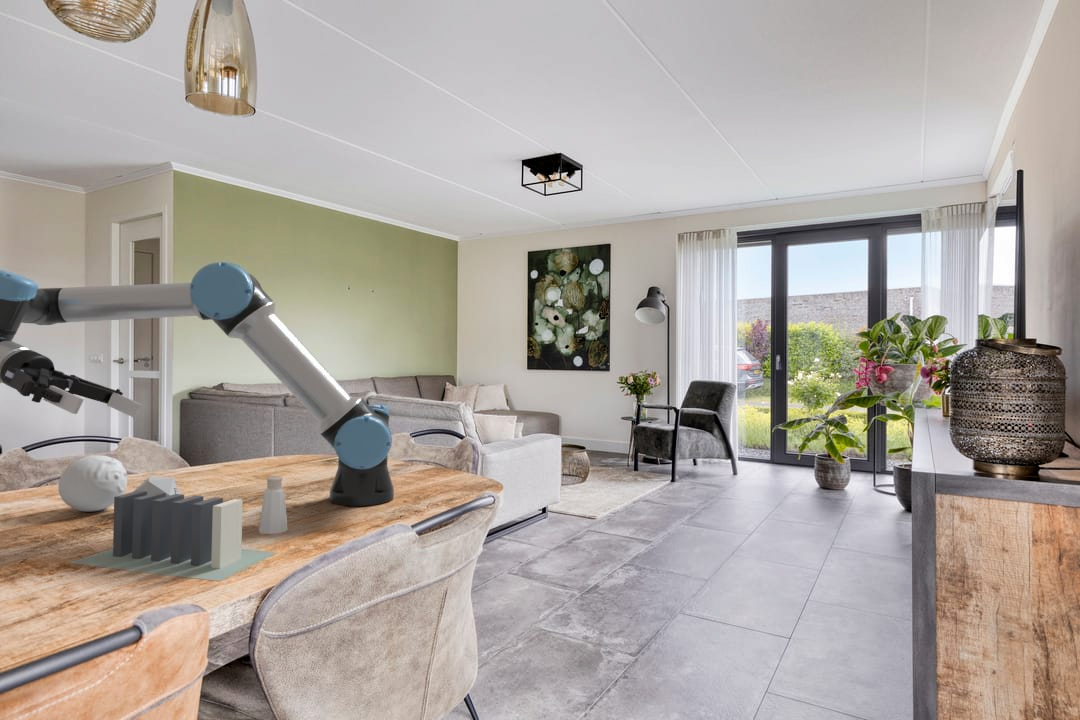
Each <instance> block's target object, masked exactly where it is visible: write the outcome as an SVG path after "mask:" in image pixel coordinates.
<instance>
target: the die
mask: <svg viewBox="0 0 1080 720" xmlns="http://www.w3.org/2000/svg"><path fill="white" fill-rule="evenodd" d="M136 491H147V495H149V494H153V493H157V492H161V493H166V497H167V496H170V495H174V494H181V492H180V490H179V488H178V485H177V483H176V481H175V478H174V476H172V477H170V476H169V477H168V476H165V477H164V476H149V477H147V478H146V480H144V481H143V482H142V483H141V484H139V486H137V488H136V489H134V490H133V491H132V492H136Z"/></svg>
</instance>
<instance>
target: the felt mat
mask: <svg viewBox="0 0 1080 720" xmlns="http://www.w3.org/2000/svg"><path fill="white" fill-rule="evenodd" d="M276 554H277V552H274V551H266V550H257V549H247V548H241V559H239V560H237V561H235V562H233V563H231V564H229V565H227V566H224V567H222V568H220V569H219V568H211V561H210V562H208V563H206V564H203V565H201V566H193V565H191V559H190V560H187V561H185V562H182V563H180V564H175V563H171V557H170V558H167V559H165V560H162V561H159V562H158V561H151V555H150V556H148V557H145V558H142V559H133V558H132V553H131V554H128V555H125V556H123V557H115V556H113V547H112V548H109V549H106V550H103V551H101V552H98V553H94V554H92V555H89V556H86V557H81V558H80V559H77V560H74V561H71V562H70V564H74V565H80V566H82V565H83V566H90V567H96V568H99V567H100V568H105V569H115V570H123V571H129V572H130V571H131V572H137V573H138V572H139V573H146V574H155V575H164V576H170V577H171V576H172V577H180V578H188V579H197V580H204V581H214V582H221V581H223V580H226V579H228V578H230V577H232V576H234V575H236V574H238V573H239V572H242V571H243V570H246V569H248V568H249V567H252V566H253V565H255V564H258V563H260V562H262V561H264V560H266V559H269V558H270V557H272V556H274V555H276Z"/></svg>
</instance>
